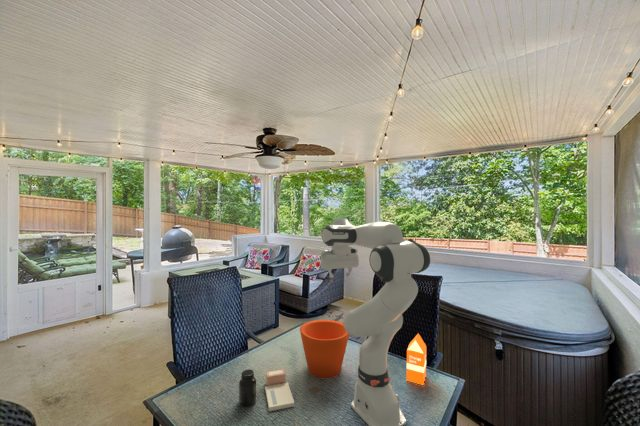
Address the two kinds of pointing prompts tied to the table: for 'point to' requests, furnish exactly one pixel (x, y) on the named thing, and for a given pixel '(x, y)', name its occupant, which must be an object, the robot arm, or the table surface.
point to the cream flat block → (279, 396)
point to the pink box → (275, 377)
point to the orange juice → (416, 361)
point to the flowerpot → (324, 347)
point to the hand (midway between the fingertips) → (339, 276)
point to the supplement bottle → (247, 389)
